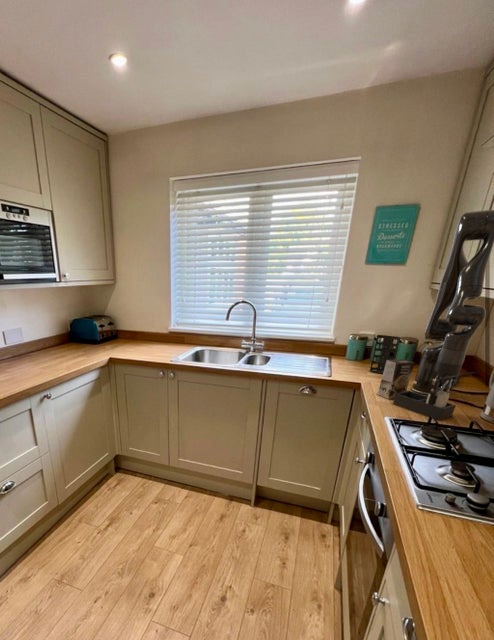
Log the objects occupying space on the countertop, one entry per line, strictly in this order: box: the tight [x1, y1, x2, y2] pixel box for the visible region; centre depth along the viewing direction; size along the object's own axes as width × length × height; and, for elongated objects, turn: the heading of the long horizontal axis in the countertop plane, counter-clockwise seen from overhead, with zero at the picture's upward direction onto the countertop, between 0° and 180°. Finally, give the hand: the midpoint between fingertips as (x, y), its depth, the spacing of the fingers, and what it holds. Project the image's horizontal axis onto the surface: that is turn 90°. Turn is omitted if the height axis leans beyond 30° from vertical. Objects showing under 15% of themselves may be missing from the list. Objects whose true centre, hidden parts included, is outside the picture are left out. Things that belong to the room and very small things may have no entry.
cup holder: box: [392, 390, 456, 421], centre depth 132 cm, size 9×18×5 cm, turn 28°
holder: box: [369, 334, 401, 374], centre depth 179 cm, size 11×8×20 cm
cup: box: [426, 390, 451, 408], centre depth 127 cm, size 6×6×8 cm
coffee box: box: [377, 358, 416, 400], centre depth 144 cm, size 9×6×16 cm
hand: (436, 402), depth 128 cm, fingers closed on cup, 6 cm apart
